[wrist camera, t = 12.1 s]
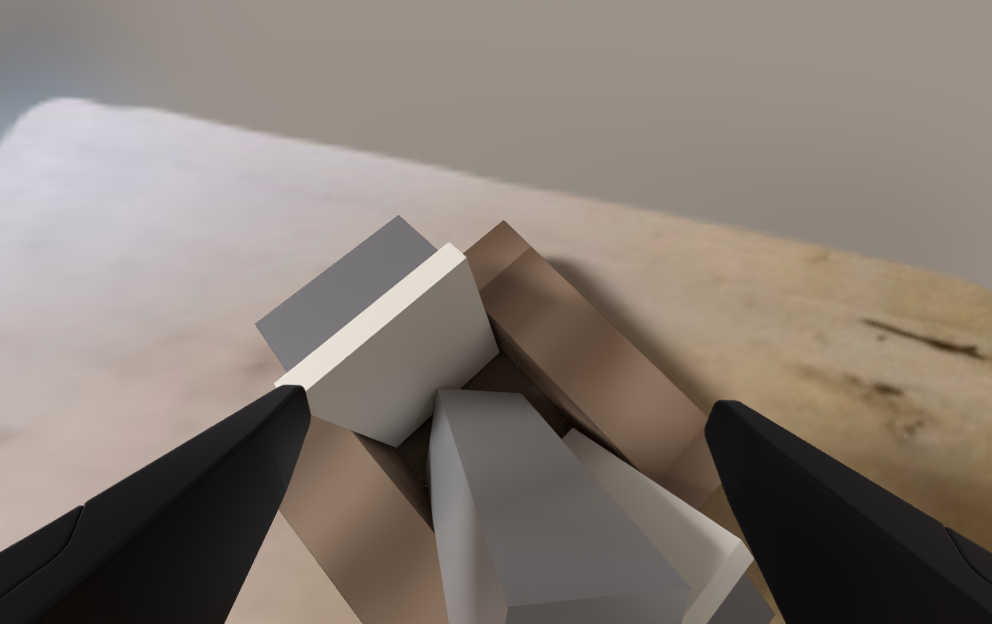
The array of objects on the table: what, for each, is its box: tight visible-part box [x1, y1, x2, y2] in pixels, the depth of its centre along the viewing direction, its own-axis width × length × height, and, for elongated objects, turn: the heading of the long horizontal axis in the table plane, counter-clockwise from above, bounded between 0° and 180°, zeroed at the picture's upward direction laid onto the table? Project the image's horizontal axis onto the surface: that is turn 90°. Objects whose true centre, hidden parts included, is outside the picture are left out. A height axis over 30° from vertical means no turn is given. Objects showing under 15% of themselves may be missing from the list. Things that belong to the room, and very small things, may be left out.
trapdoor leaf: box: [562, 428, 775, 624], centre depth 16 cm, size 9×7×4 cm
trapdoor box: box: [279, 220, 721, 624], centre depth 19 cm, size 16×16×4 cm
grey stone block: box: [425, 388, 690, 624], centre depth 14 cm, size 4×4×12 cm
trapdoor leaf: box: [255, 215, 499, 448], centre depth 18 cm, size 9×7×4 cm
